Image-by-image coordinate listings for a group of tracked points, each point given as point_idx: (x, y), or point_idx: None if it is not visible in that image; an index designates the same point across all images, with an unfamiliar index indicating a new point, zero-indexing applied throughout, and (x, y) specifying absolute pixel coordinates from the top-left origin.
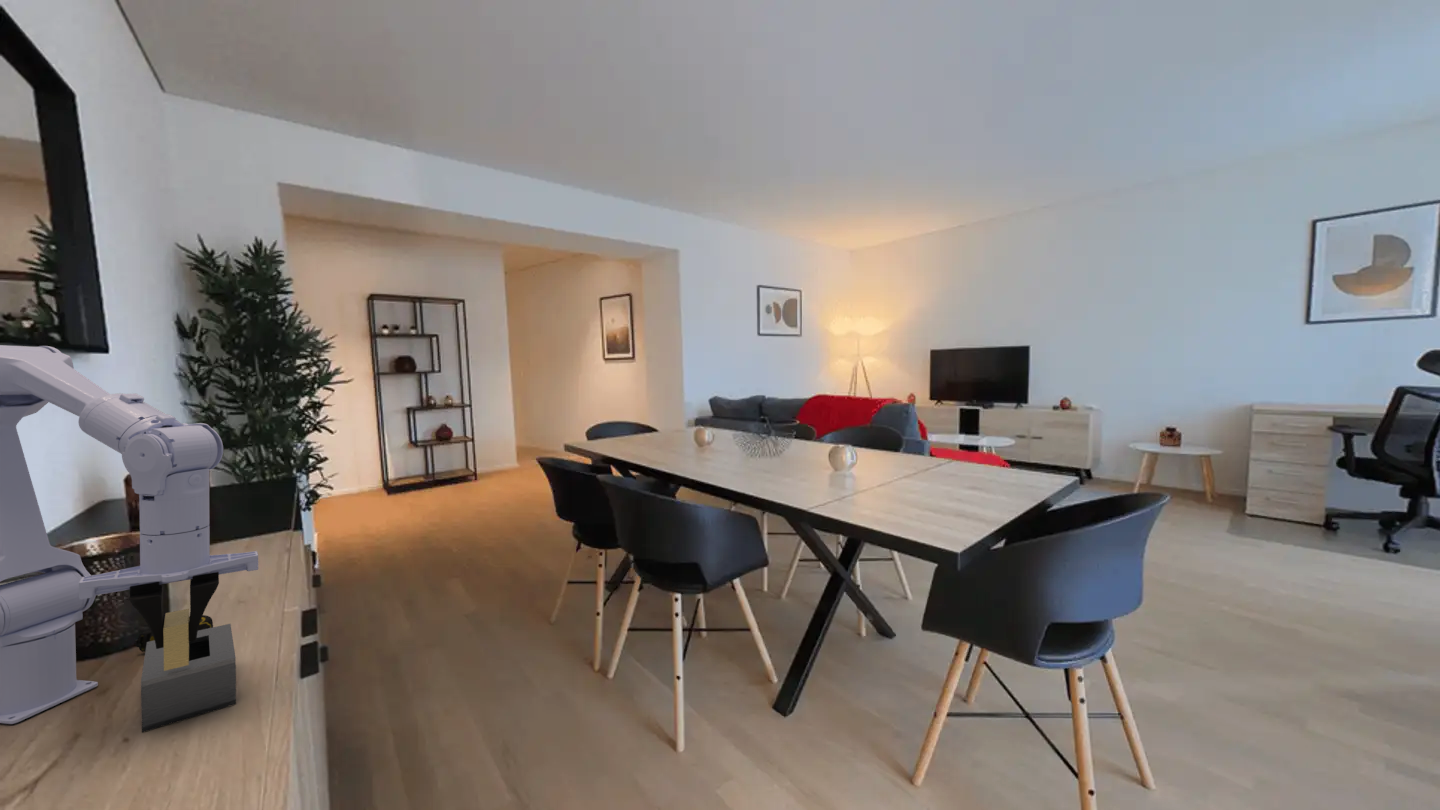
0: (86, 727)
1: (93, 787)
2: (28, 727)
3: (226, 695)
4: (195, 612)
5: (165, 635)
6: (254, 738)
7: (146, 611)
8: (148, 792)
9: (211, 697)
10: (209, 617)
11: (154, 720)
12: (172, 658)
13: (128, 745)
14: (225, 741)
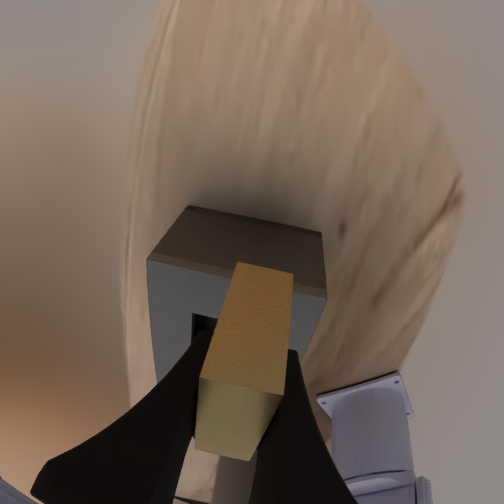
0: (361, 312)
1: (408, 108)
2: (393, 358)
3: (194, 217)
4: (165, 413)
5: (280, 364)
6: (186, 43)
7: (329, 489)
8: (353, 11)
9: (216, 226)
10: (193, 435)
11: (304, 236)
12: (270, 292)
13: (345, 205)
14: (226, 72)
